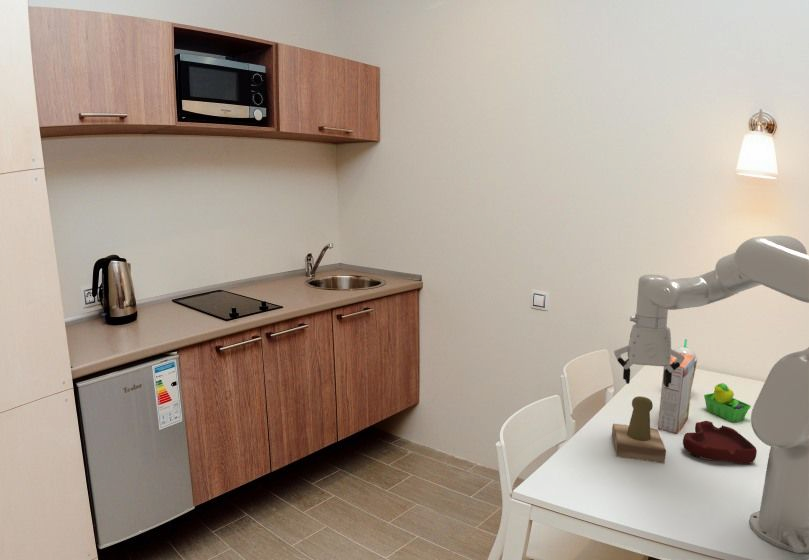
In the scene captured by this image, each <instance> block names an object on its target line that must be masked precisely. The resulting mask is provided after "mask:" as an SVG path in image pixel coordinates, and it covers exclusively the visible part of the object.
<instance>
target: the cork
mask: <svg viewBox="0 0 809 560" xmlns="http://www.w3.org/2000/svg"><path fill="white" fill-rule="evenodd" d="M631 407H632V408H633V409H632V413H631V416H630V420H629V424H628V425H629V427H628V431H627V435H628V436H629V437H630V438H632V439H635V440H638V441H648V440H650V439H651V434H650V428H651V413H650V412H651V411H652V409H653V401H652V399H650V398H648V397H645V396H635V397H634V398H632V400H631Z"/></svg>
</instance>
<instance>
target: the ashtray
mask: <svg viewBox="0 0 809 560" xmlns="http://www.w3.org/2000/svg"><path fill="white" fill-rule="evenodd" d="M694 426H695V427H694V431H695V432H686V433H685V434H684V436H683V438H682V445H683V447H684V449H685V450H686V451H687V452H688V453H689V454H690V455H691V456H692V457H696V458H702V459H705V460H709V461H717V462H718V461H719V462H726V463H734V464H745V465H746V464H747V465H749V464H751V463H753V462H754V461H755V460H756V458H757V455H758V454H757V451H758V450H757V447H756V446H755V445H754V444H753V443H752V442H750V441H749V440H748V439H747V438H745V436H743V435H742V434H741V433H740V432H738V431H737V430H735V429H734V428H732V427H729V426H725V425H721V426H720V427H717V426H715V425H714V424H713V421H709V420H703V421H698V422H696V423H695V424H694Z"/></svg>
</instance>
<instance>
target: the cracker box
mask: <svg viewBox="0 0 809 560" xmlns="http://www.w3.org/2000/svg"><path fill="white" fill-rule="evenodd" d="M678 353H679V354H681V355H683V356H684V357H685V359H684V360H683V362H682V363H681V364H680V366H679V367H678V368H677V369H676V370H674V372H673V373H672V378H671V383H669V387H666V386H665V385H664V383H663V381H664V370H665V369H666V367H665V366H663V371H662V372H663V373H662V380H661V381H662V382H661V391H660V403H659V411H658V412H659V413H658V421H657V422H658V423H657V430H662V431H665V432H669V433H672V434H676V435H677V434H678V433H679V432H680V431H681V429H682V428H683V426H684V424H685V423H686V422H687V420H688V419H689V412H690V403H691V397H692V396H691V395H692V389H691V388H692V387H693V384H692V379H693V371H694V362H695V355H690V354H685V353H680V352H678ZM676 359H677V358H676V357H674V356H671V362H670V365H671V364H672V363H673V362H675V361H676ZM693 380H694V379H693Z"/></svg>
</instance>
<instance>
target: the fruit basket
mask: <svg viewBox="0 0 809 560" xmlns="http://www.w3.org/2000/svg"><path fill="white" fill-rule="evenodd" d="M734 395H735V393H734V391H733V390H732V389H731V388H730V387H728V385H727V384H726V383H723V382H721V383H718V384H716V385H715V386H714V392H713V393H708V394H707V393H706V394H704V395H703V397H704V400H705V401H704V402H705V407H706V411H707V412H709V413H711V412H712V414H714V415H715V416H717V415H718V416H717V417H720V418H721V419H724V420H726V421H728V422H730V421H731V422H730V423H733V422H734V421H735V422H740V421H744V419H745V417H746V416H747V413H748V412H749V410H750V408H751V407H752V406H751V404H748V403H746V402H743V401H741V400H739V399H736V398H734ZM739 420H740V421H739Z"/></svg>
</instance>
